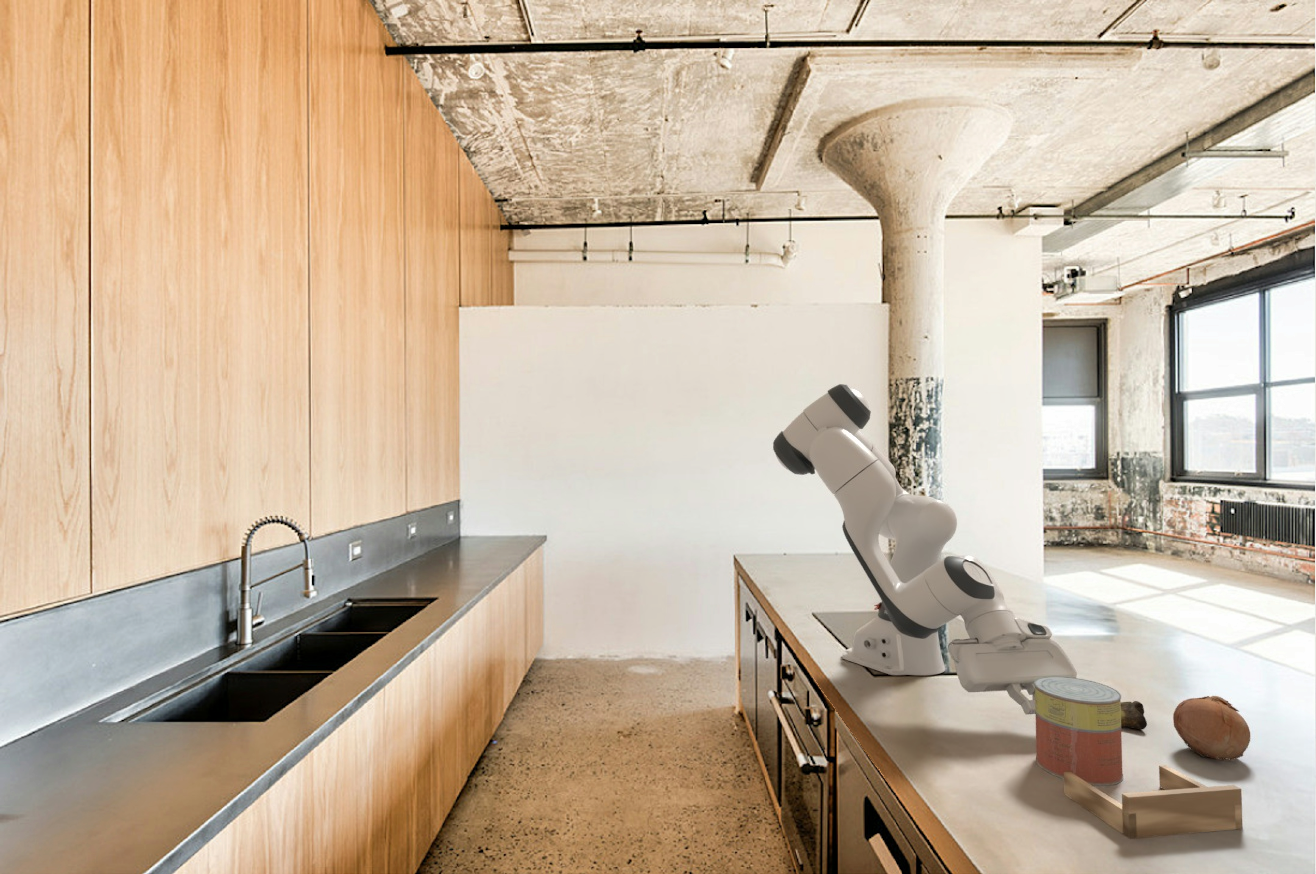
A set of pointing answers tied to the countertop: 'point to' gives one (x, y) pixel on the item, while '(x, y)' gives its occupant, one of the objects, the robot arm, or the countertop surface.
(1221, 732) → the onion
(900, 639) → the robot arm
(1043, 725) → the canned food
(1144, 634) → the countertop surface
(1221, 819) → the cradle
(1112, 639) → the countertop surface
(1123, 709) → the claw
